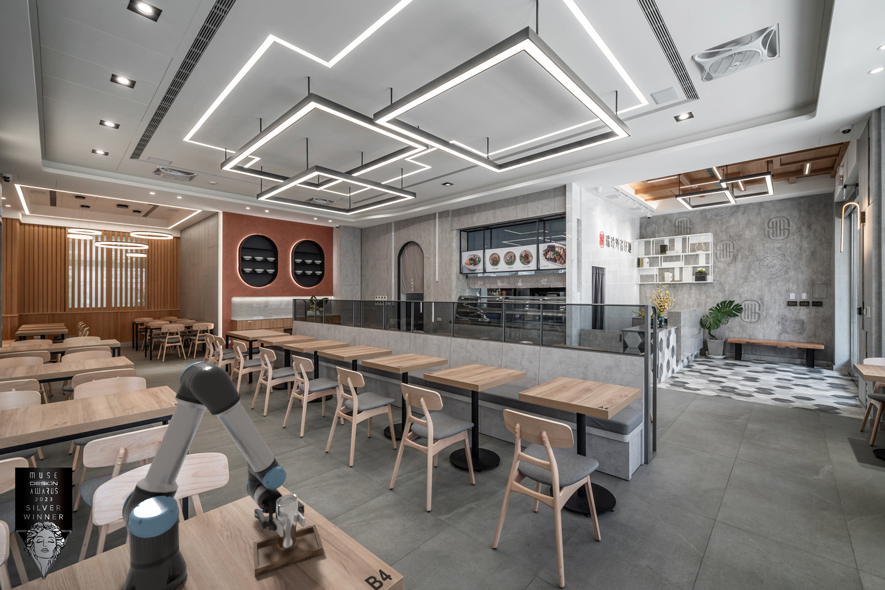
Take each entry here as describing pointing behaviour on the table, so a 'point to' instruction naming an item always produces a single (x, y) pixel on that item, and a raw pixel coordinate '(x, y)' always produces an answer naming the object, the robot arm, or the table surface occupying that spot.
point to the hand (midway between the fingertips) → (293, 527)
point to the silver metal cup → (287, 520)
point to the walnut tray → (286, 551)
